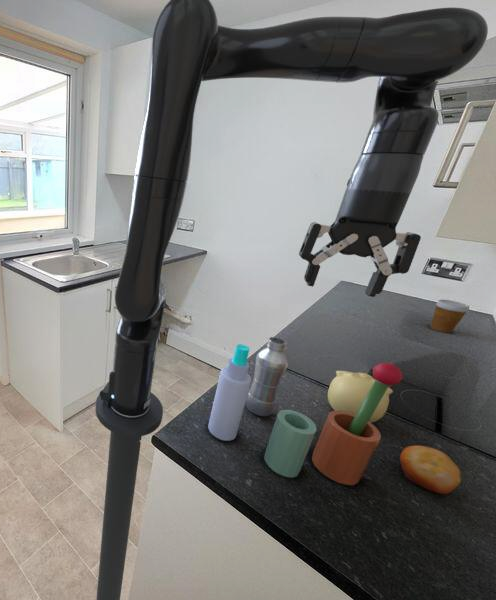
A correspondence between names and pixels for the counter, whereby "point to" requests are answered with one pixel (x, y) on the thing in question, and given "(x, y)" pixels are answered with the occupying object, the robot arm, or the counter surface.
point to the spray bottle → (230, 396)
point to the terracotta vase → (344, 448)
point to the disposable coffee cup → (448, 315)
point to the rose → (375, 395)
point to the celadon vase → (289, 443)
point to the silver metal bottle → (267, 377)
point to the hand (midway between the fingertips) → (338, 290)
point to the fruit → (430, 469)
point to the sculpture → (354, 393)
